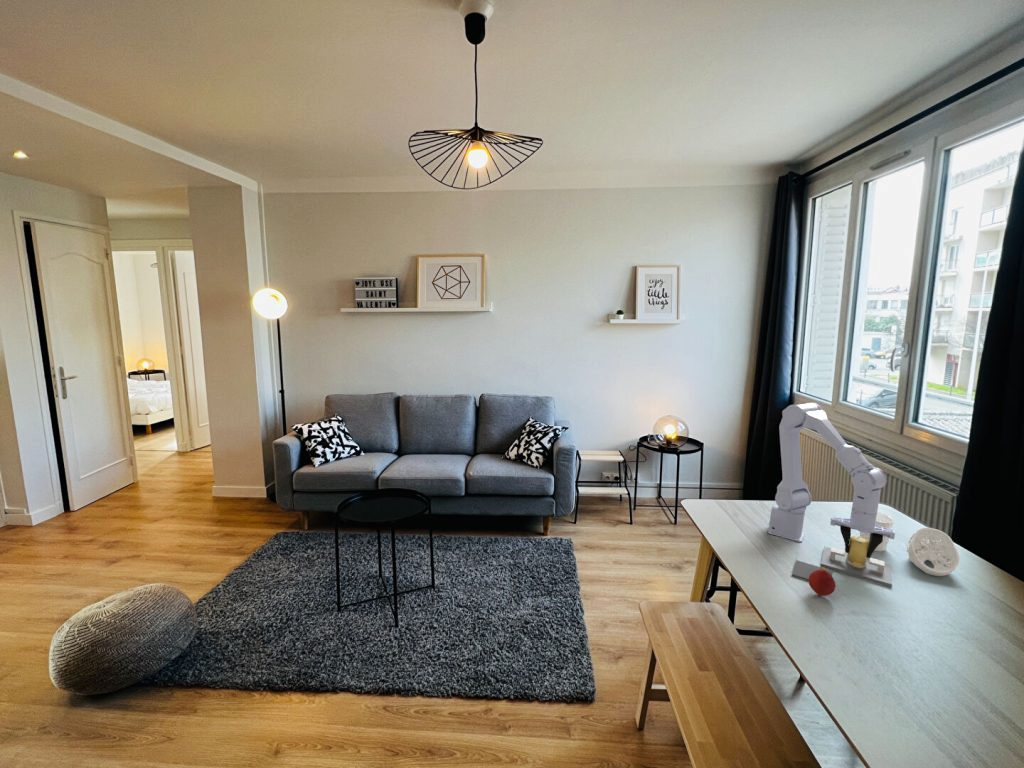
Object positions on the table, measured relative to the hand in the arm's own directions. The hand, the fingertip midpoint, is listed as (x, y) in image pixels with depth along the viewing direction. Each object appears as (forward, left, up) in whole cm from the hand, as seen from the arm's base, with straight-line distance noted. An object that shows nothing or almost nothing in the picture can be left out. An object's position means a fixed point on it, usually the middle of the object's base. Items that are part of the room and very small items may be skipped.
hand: (857, 553), depth 133 cm
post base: (0, 0, -4) cm, 4 cm away
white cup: (+4, +18, -4) cm, 19 cm away
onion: (-7, -22, -4) cm, 23 cm away
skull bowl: (+17, +14, -4) cm, 22 cm away
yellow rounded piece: (0, 0, -2) cm, 2 cm away
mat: (-9, -12, -4) cm, 16 cm away
